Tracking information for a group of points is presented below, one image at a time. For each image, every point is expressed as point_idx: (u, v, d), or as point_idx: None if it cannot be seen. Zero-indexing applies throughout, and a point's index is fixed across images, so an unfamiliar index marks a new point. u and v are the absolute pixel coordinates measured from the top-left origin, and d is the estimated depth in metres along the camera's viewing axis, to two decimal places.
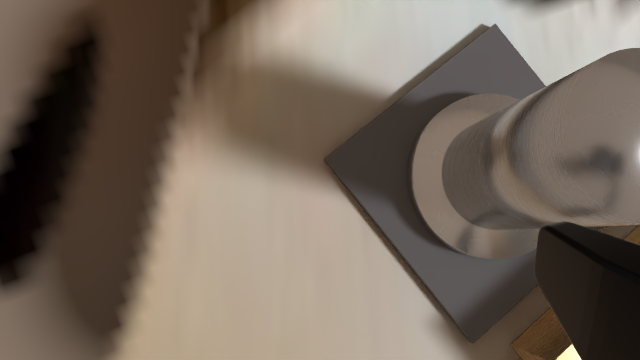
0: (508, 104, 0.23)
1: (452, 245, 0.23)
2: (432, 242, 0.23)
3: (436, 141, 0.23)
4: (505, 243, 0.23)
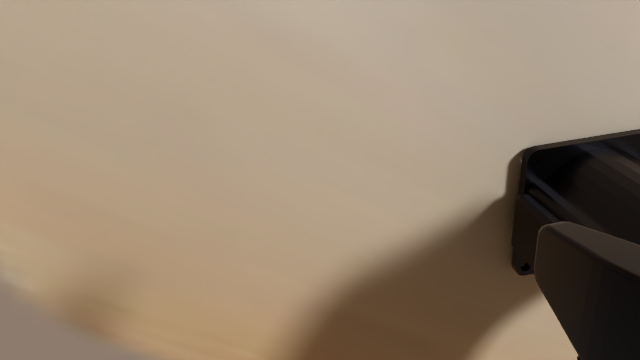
0: None
1: None
2: None
3: None
4: None
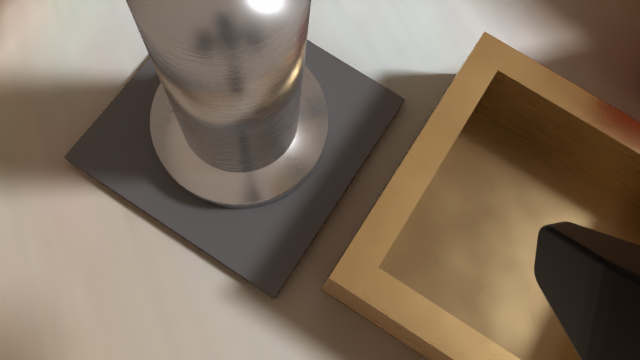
0: None
1: (213, 199, 0.21)
2: (202, 207, 0.22)
3: (169, 102, 0.22)
4: (270, 180, 0.21)
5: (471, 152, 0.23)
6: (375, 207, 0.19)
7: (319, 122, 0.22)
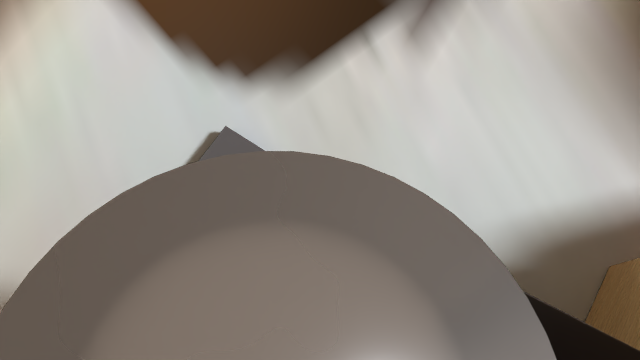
0: None
1: None
2: None
3: None
4: None
5: None
6: None
7: None
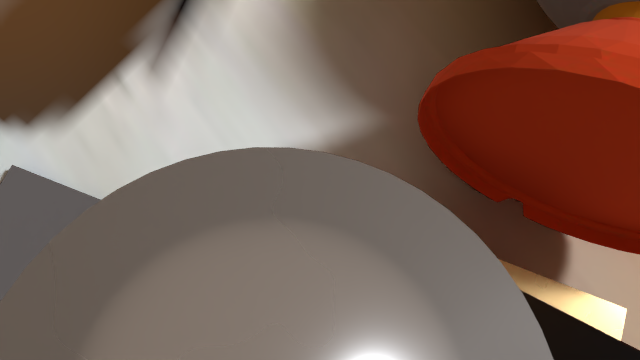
0: None
1: None
2: None
3: None
4: None
5: None
6: None
7: None
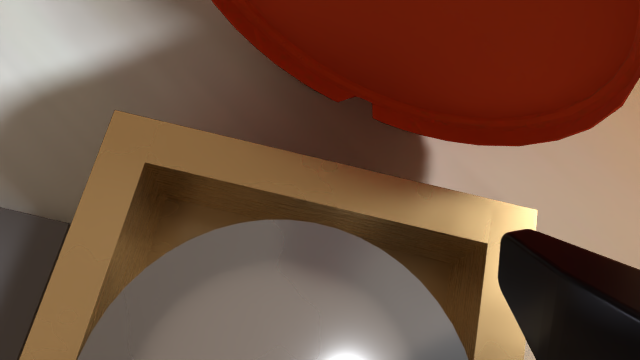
0: None
1: None
2: None
3: None
4: None
5: None
6: None
7: None
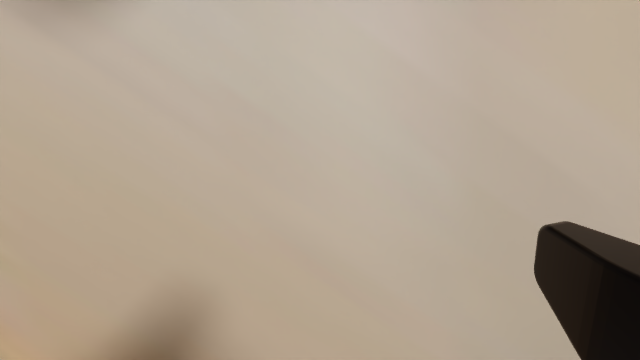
0: None
1: None
2: None
3: None
4: None
5: None
6: None
7: None
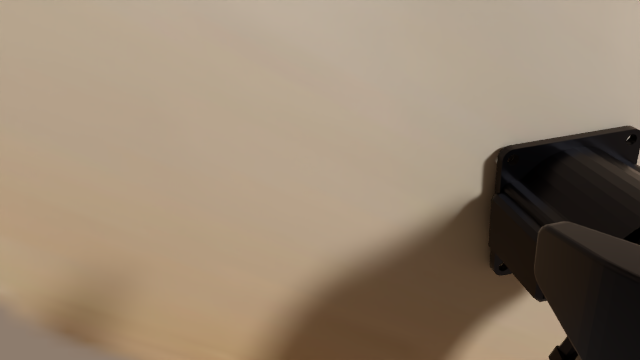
0: None
1: None
2: None
3: None
4: None
5: None
6: None
7: None
